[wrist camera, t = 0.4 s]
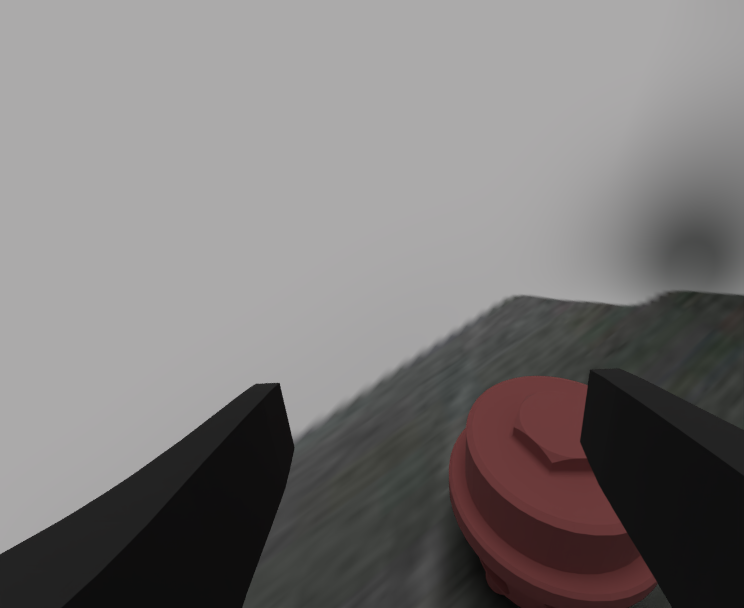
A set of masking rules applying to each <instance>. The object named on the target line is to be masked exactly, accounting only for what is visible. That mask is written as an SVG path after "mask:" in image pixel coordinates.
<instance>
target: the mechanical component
mask: <svg viewBox="0 0 744 608" xmlns="http://www.w3.org/2000/svg"><path fill="white" fill-rule="evenodd" d="M587 388H588V385H585V384H582V383H579V382H576V381H571V380H567V379H563V378H556V377H549V376H526V377H519V378H513V379H510V380H507V381H503V382H501V383H499V384H496V385H494V386H492V387H491V388H489V389H488V390H486V391H485V392H484V393H483V394H482V395H481V396H480V397H479V398H478V399H477V400H476V401H475V403H474V404H473V406H472V408H471V410H470V412H469V415H468V419H467V424H466V428H465V429H464V430H463V432H462V433H461V434H460V436H459V437H458V439H457V441H456V443H455V445H454V447H453V450H452V453H451V457H450V464H449V490H450V500H451V504H452V508H453V512H454V515H455V517H456V520H457V523H458V525H459V527H460V529H461V531H462V533H463V535H464V536H465V538H466V540H467V541H468V543H469V544H470V546H471V547H472V548H473V550H474V551H475V553H476V554H477V555H478V556H479V558H480V561H481V564H482V566H483V568H484V569H485V571H486V580H487V583H488V585H489V587H490V588H491V589H492V590H493V591H494V592H496V593H498V594H500V595H505V596H506V597H507V598H508V599H510V600H511V601H512V602H513V603H515V604H516V605H518V606H519V607H521V608H628V607H630V606H632V605H634V604H636V603H637V602H639V601H641V600H643V599H644V598H645V597H646V596H647V595H648V594H649V593H650V592H651V591H652V590H653V589H654V588H655V587H656V585H657V584H658V583H657V581H656V580H655V578H654V576H653V575H652V573H651V571H650V570H649V568H648V566H647V565H646V563H645V561H644V560H643V558H642V556H641V555H640V553H639V551H638V550H637V548H636V546H635V545H634V543H633V542H632V540H631V538H630V537H629V535H628V533H627V532H626V530H625V528H624V527H623V525H622V523H621V522H620V520H619V518H618V517H617V515H616V513H615V512H614V510H613V508H612V506H611V505H610V503H609V501H608V500H607V498H606V496H605V495H604V493H603V491H602V489H601V488H600V486H599V484H598V482H597V480H596V477H595V475H594V473H593V471H592V469H591V467H590V464H589V462H588V460H587V457H586V455H585V453H584V450H583V448H582V446H581V443H580V437H581V430H582V423H583V416H584V409H585V402H586V395H587Z"/></svg>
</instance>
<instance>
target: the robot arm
mask: <svg viewBox="0 0 744 608" xmlns="http://www.w3.org/2000/svg"><path fill="white" fill-rule="evenodd" d="M580 443H581V446H582V448H583V450H584V453H585V455H586V457H587V460H588V462H589V464H590V467H591V469H592V471H593V473H594V475H595V477H596V480H597V482H598V484H599V486H600V488H601V489H602V491H603V493H604V495H605V496H606V498H607V500H608V501H609V503H610V505H611V506H612V508H613V510H614V512H615V513H616V515H617V517H618V518H619V520H620V522H621V523H622V525H623V527H624V528H625V530H626V532H627V533H628V535H629V537H630V538H631V540H632V542H633V543H634V545H635V546H636V548H637V550H638V551H639V553H640V555H641V556H642V558H643V560H644V561H645V563H646V565H647V566H648V568H649V570H650V571H651V573H652V575H653V576H654V578H655V580H656V581H657V583H658V585H659V586H660V588H661V590H662V591H663V593H664V595H665V596H666V598H667V600H668V601H669V603H670V605H671V607H672V608H744V430H742V429H740V428H738V427H736V426H734V425H732V424H730V423H728V422H726V421H724V420H722V419H720V418H718V417H716V416H714V415H713V414H711V413H709V412H707V411H705V410H703V409H701V408H699V407H697V406H695V405H693V404H691V403H689V402H687V401H685V400H683V399H681V398H679V397H677V396H675V395H673V394H671V393H669V392H668V391H666V390H664V389H662V388H660V387H658V386H656V385H654V384H652V383H650V382H648V381H646V380H644V379H642V378H639V377H637V376H635V375H633V374H631V373H629V372H626V371H624V370H622V369H596V370H590V374H589V381H588V388H587V395H586V402H585V409H584V416H583V423H582V430H581V437H580ZM293 453H294V444H293V439H292V435H291V431H290V427H289V422H288V418H287V413H286V409H285V405H284V400H283V396H282V392H281V387H280V383H265V384H255V385H253V386H252V387H250V388H249V389H247V390H246V391H245V392H243V393H242V394H241V395H239V396H238V397H237V398H235V399H234V400H233V401H231V402H230V403H229V404H228V405H226V406H225V407H224V408H222V409H221V410H220V411H219V412H217V413H216V414H215V415H213V416H212V417H211V418H209V419H208V420H207V421H205V422H204V423H203V424H202V425H200V426H199V427H198V428H197V429H195V430H194V431H192V432H191V433H190V434H189V435H187V436H186V437H185V438H183V439H182V440H181V441H179V442H178V443H176V444H175V445H174V446H172V447H171V448H169V449H168V450H167V451H165V452H164V453H162V454H161V455H160V456H158V457H157V458H156V459H154V460H153V461H152V462H150V463H149V464H147V465H146V466H144V467H143V468H142V469H140V470H139V471H138V472H136V473H135V474H133V475H132V476H130V477H129V478H127V479H126V480H124V481H123V482H121V483H120V484H118V485H117V486H115V487H114V488H112V489H110V490H109V491H107V492H106V493H104V494H103V495H101V496H100V497H98V498H96V499H95V500H93V501H91V502H90V503H88V504H87V505H85V506H83V507H82V508H80V509H79V510H77V511H76V512H74V513H72V514H71V515H69V516H67V517H65V518H64V519H62V520H61V521H59V522H57V523H55V524H54V525H52V526H50V527H48V528H46V529H45V530H43V531H41V532H40V533H38V534H36V535H34V536H32V537H31V538H29V539H27V540H25V541H23V542H21V543H20V544H18V545H16V546H14V547H13V548H11V549H9V550H7V551H5V552H4V553H2V554H0V608H242V606H243V603H244V600H245V597H246V594H247V591H248V589H249V586H250V583H251V580H252V578H253V575H254V572H255V570H256V567H257V564H258V561H259V559H260V556H261V553H262V551H263V548H264V545H265V543H266V540H267V537H268V534H269V532H270V529H271V526H272V524H273V521H274V518H275V515H276V513H277V510H278V507H279V504H280V502H281V499H282V496H283V493H284V490H285V487H286V483H287V479H288V475H289V471H290V466H291V462H292V457H293Z"/></svg>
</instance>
